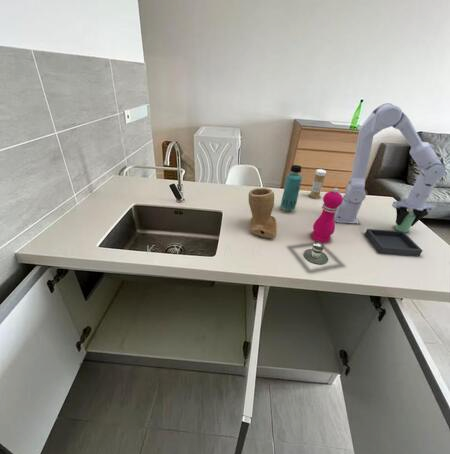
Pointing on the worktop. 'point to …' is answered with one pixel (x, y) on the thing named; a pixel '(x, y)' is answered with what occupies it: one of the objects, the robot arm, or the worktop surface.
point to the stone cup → (262, 212)
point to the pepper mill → (327, 216)
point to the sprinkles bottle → (317, 183)
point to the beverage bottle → (291, 188)
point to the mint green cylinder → (406, 222)
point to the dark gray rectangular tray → (392, 242)
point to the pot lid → (316, 254)
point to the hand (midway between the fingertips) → (403, 224)
